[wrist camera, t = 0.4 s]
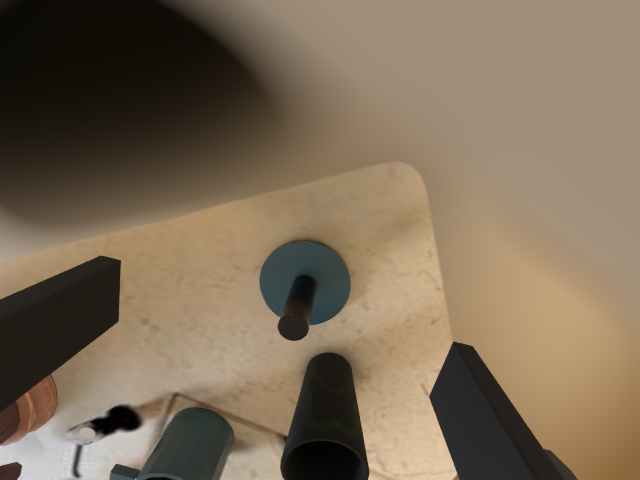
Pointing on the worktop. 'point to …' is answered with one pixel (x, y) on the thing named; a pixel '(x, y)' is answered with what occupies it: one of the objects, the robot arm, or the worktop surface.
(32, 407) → the mug
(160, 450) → the pot
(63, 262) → the worktop surface
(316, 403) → the cup
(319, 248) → the lid
